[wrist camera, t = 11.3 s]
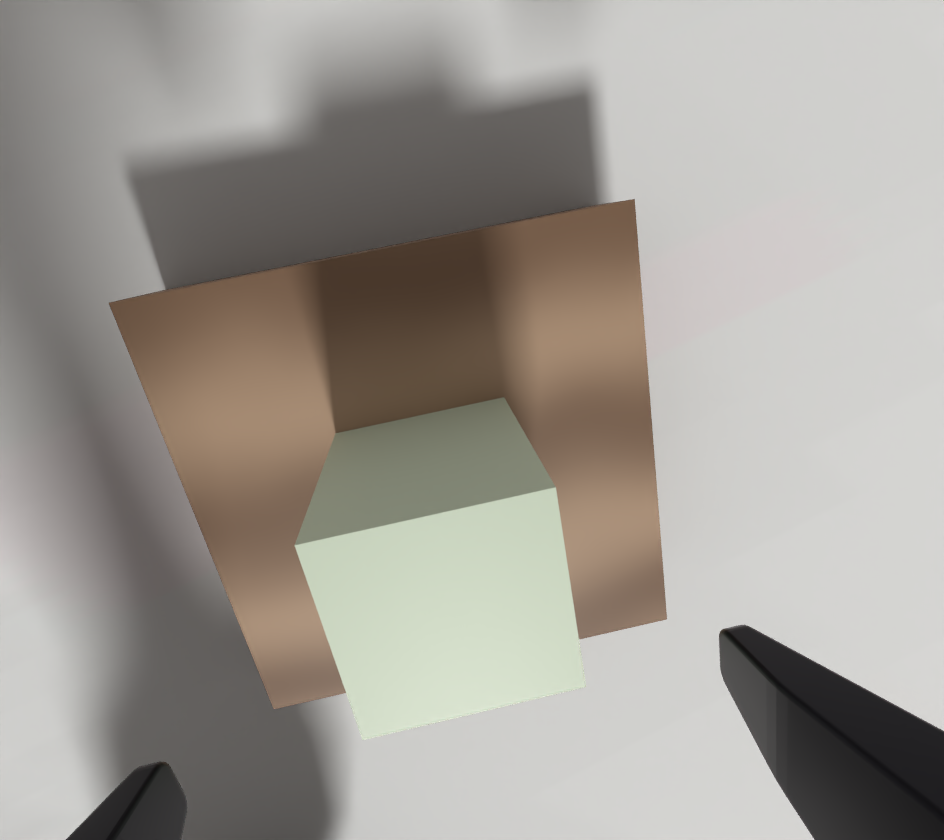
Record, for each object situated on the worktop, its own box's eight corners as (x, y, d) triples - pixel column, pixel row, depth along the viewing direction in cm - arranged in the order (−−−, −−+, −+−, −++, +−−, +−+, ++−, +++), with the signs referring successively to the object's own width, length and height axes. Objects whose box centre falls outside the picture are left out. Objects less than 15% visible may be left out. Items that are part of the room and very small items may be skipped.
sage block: (529, 541, 18) (585, 686, 12) (377, 576, 17) (362, 740, 12) (504, 397, 16) (555, 487, 10) (335, 433, 16) (294, 545, 10)
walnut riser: (624, 556, 23) (666, 619, 19) (296, 629, 23) (273, 709, 19) (588, 206, 18) (634, 199, 15) (172, 288, 18) (108, 302, 14)
